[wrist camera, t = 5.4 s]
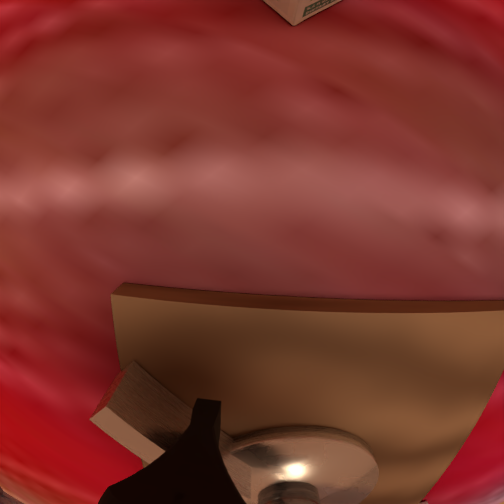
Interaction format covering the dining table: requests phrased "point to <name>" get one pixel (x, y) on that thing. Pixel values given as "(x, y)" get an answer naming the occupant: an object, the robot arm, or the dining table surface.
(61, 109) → the dining table surface
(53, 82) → the dining table surface
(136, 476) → the robot arm
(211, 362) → the base board
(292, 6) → the syrup box
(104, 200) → the dining table surface
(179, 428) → the lever handle
